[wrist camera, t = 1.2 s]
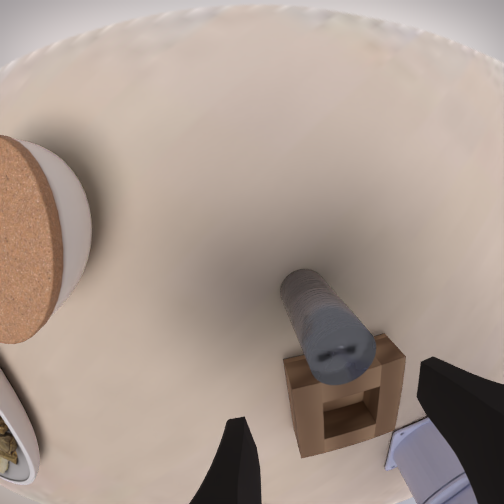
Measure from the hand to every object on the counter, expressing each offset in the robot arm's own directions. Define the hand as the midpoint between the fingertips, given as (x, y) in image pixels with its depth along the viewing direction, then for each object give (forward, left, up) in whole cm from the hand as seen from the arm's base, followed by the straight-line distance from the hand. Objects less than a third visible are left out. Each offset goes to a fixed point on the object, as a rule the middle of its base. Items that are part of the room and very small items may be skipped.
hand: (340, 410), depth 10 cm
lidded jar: (+15, -9, -10) cm, 20 cm away
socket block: (-3, +8, -10) cm, 13 cm away
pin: (-1, -1, -10) cm, 10 cm away
